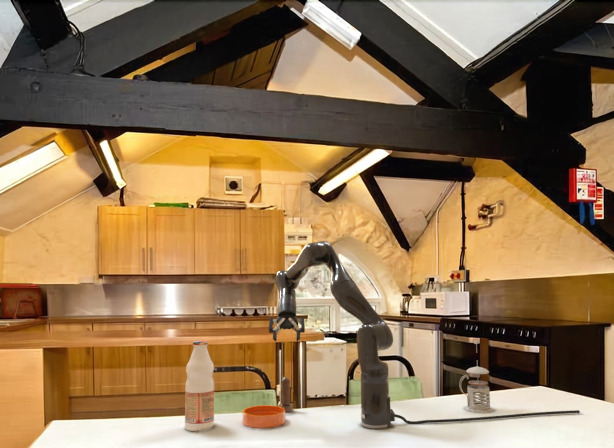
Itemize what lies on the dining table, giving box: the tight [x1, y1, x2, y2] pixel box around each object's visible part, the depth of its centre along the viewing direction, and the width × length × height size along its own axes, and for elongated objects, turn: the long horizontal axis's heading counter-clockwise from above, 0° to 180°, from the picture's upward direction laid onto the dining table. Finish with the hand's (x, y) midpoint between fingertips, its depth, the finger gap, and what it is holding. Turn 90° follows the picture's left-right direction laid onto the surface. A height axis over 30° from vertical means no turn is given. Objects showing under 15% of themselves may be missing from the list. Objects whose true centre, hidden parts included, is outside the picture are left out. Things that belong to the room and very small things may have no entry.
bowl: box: [241, 404, 286, 429], centre depth 177 cm, size 14×14×4 cm
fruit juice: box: [184, 339, 215, 432], centre depth 175 cm, size 9×9×28 cm
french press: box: [458, 339, 494, 414], centre depth 195 cm, size 10×12×25 cm
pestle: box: [278, 377, 294, 414], centre depth 191 cm, size 5×5×13 cm
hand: (286, 340), depth 204 cm, fingers open, 8 cm apart
